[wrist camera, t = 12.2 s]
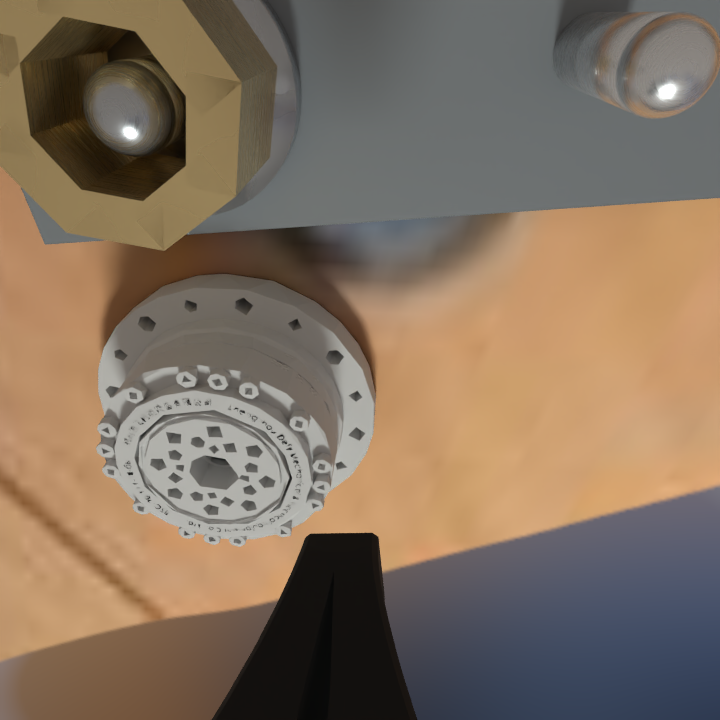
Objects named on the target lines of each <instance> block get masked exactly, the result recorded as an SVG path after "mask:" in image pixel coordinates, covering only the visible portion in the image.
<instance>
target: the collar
mask: <svg viewBox="0 0 720 720" xmlns="http://www.w3.org/2000/svg"><path fill="white" fill-rule="evenodd" d="M128 30H131V31H135V32H136V33H137V34H138V35H139V37H140V38H141V39H142V41H143V42H144V43H145V44H146V46H147V47H148V48H149V50H150V51H151V52H152V53H153V55H154V56H155V57H156V59H157V60H158V61H159V62H160V64H161V65H162V66H163V68H164V69H165V70H166V71H167V73H168V74H169V75H170V77H171V78H172V79H173V80H174V82H175V83H176V84H177V86H178V87H179V88H180V89H181V91H182V92H183V93H184V95H185V96H186V159H181V158H176V157H171V156H166V155H160V154H152V155H149V156H143V157H134V156H128V155H124V154H121V153H119V152H116V151H114V150H112V149H111V148H109V147H108V146H107V145H105V144H104V143H103V142H102V141H101V140H100V139H99V138H98V137H97V136H96V135H95V134H94V132H93V131H92V129H91V128H90V126H89V124H88V122H87V119H86V117H85V113H84V108H83V92H84V88H85V85H86V83H87V80H88V79H89V77H90V75H91V74H92V73H93V72H94V71H95V70H96V69H97V68H99V67H100V66H102V65H103V64H105V63H108V58H107V51H108V50H109V49H110V48H111V47H112V46H113V45H114V44H115V43H116V42H117V41H118V40H119V39H120V38H121V37H122V36H123V35H124V34H125V33H126V32H127V31H128ZM277 67H278V66H277V65H276V63H275V62H274V60H273V59H272V57H271V56H270V55H269V53H268V52H267V50H266V49H265V47H264V46H263V44H262V43H261V41H260V40H259V38H258V37H257V35H256V34H255V33H254V31H253V30H252V28H251V27H250V25H249V24H248V22H247V21H246V19H245V18H244V16H243V15H242V13H241V12H240V11H239V9H238V8H237V6H236V5H235V3H234V2H233V0H0V166H1V167H2V168H3V169H4V170H5V171H6V172H7V173H8V174H9V175H10V176H11V177H12V178H13V179H14V180H15V181H16V182H17V183H18V184H19V185H20V186H21V187H22V188H23V189H24V190H25V191H26V192H27V193H28V194H29V195H30V196H31V197H32V198H33V199H34V201H35V202H36V203H37V204H38V205H39V206H40V207H41V208H42V209H43V210H44V211H45V212H46V213H47V214H48V215H49V216H50V217H51V218H52V219H53V220H54V221H55V222H56V223H57V224H58V225H59V226H60V227H61V228H62V229H63V230H64V231H65V232H66V233H71V234H76V235H81V236H87V237H92V238H97V239H103V240H108V241H114V242H119V243H124V244H130V245H135V246H141V247H146V248H151V249H157V250H162V251H165V250H166V249H167V248H169V247H170V246H171V245H173V244H174V243H175V242H177V241H178V240H179V239H181V238H182V237H183V236H185V235H186V234H187V233H188V232H190V231H191V230H192V229H194V228H195V227H196V226H198V225H199V224H200V223H202V222H203V221H204V220H206V219H207V218H208V217H209V216H211V215H212V214H213V213H215V212H216V211H217V210H219V209H220V208H221V207H223V206H224V205H225V204H226V203H228V202H229V201H230V200H232V199H233V198H234V197H236V196H237V195H238V194H239V192H240V191H241V190H242V189H243V188H244V187H245V185H246V184H247V183H248V182H249V181H250V180H251V179H252V177H253V176H254V175H255V174H256V173H257V172H258V171H259V169H260V168H261V167H262V166H263V165H264V164H265V163H266V161H267V160H268V159H269V158H270V152H271V140H272V128H273V115H274V103H275V91H276V79H277Z"/></svg>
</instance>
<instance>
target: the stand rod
mask: <svg viewBox="0 0 720 720" xmlns="http://www.w3.org/2000/svg"><path fill="white" fill-rule="evenodd" d="M553 66H554V70H555V73H556V75H557V76H558V78H559V79H560V80H561V81H562V82H563V83H564V84H566V85H567V86H569V87H572V88H574V89H576V90H579V91H581V92H583V93H586V94H588V95H590V96H593V97H595V98H597V99H600V100H602V101H604V102H607V103H609V104H611V105H614V106H616V107H618V108H621V109H623V110H626V111H628V112H630V113H633V114H635V115H637V116H640V117H644V118H649V119H661V118H667V117H671V116H674V115H677V114H679V113H681V112H683V111H685V110H687V109H689V108H690V107H692V106H693V105H694V104H695V103H697V102H698V101H699V100H700V99H701V98H702V97H703V96H704V95H705V94H706V92H707V91H708V90H709V89H710V87H711V86H712V84H713V82H714V80H715V79H716V76H717V74H718V71H719V68H720V38H719V36H718V33H717V32H716V30H715V28H714V27H713V26H712V25H711V24H710V23H709V22H708V21H707V20H706V19H704V18H703V17H701V16H699V15H696V14H693V13H688V12H590V13H586V14H582V15H580V16H578V17H577V18H575V19H573V20H572V21H571V22H570V23H569V24H568V25H567V26H566V27H565V28H564V29H563V30H562V32H561V33H560V35H559V37H558V39H557V41H556V43H555V46H554V50H553Z"/></svg>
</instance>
